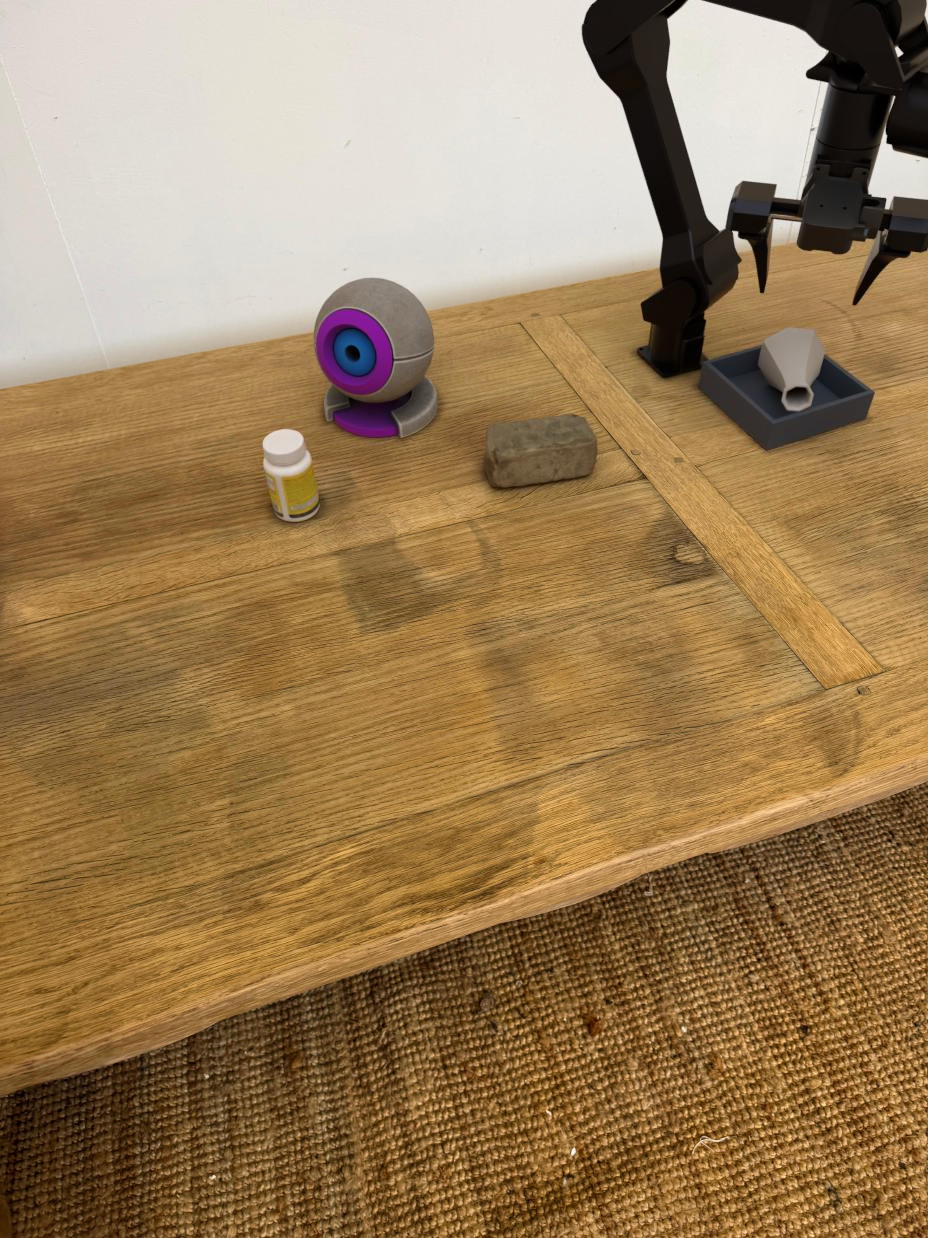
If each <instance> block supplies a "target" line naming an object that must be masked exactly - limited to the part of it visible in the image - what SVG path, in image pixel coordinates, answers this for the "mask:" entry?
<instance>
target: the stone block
mask: <svg viewBox="0 0 928 1238" xmlns="http://www.w3.org/2000/svg"><path fill="white" fill-rule="evenodd" d="M484 444H485V446H484V447H485V448H484V456H483V461H482V463H483V467H484V472H485V474H486V475H487V477H488V478H487V479H488V481H489V483H490V485H491V486H492V487H494V488H495V487H498V488H510V487H511V488H512V487H517V488H518V487H524V486H529V485H537V484H538V485H539V484H544V483H549V482H557V481H560V480H571V479H575V478H581V477H585V476H587V475H590V474H591V473H593V471H594V469H595V465H596V463H597V458H598V437H597V435H596V434H595V431H594V429H593V428H592V426H591V425H590V423H589V422H588V420H587V418H586V417H585V416H580V415H578V414H575V413H568V414H563V415H551V416H546V417H538V418H534V419H533V418H531V419H525V420H518V421H506V422H502V423H493V424H492V425H488V426H487V427H486V430H485V443H484Z"/></svg>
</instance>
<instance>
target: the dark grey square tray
mask: <svg viewBox="0 0 928 1238" xmlns="http://www.w3.org/2000/svg"><path fill="white" fill-rule="evenodd" d="M761 347H762V344H759V345H756V346H751V347H749V348H745V349H742V350H737V351H735V352H731V353H727V354H723V355H720V356H716V357H714V358H710V359H709V360H706V361H703V363H702V367H701V368H700V373H699V380H698V385H697V388H698V390H699V391H701V392H702V393H703V394H704V395H705V396H706V397H707V398H708V399H710V401H712V402H713V403H714V404H715V405H716V406H717V407H718V408H719V409H720V410H722V412H723V413H725V414H726V415H727V416H728V417H729V418H730V419H731V420H732V421H733V422H734V423H735V424H736V425H737V426H739V427H740V429H742V430H743V431H744V432H745V433H746V434H747V435H748V436H749V437H751V438H752V439H753V440H754V441H755V442H756V443H757V444H758V445H759V446H761V448H763V449H764V450H765V451H766V452H767V451H769V450H773V449H775V448H779V447H782V446H786V445H789V444H791V443H795V442H798V441H801V440H804V439H807V438H808V439H809V438H810V437H813V436H817V435H821V434H823V433H826V432H829V431H833V430H836V429H839V428H842V427H845V426H849V425H851V424H855V423H858V422H861V421H865V420H867V417H868V415H869V411H870V408H871V405H872V403H873V401H874V400H873V399H874V397H875V395H876V394H875V390H873V389H871V388H870V387H869V386H868V385H866V384H865V383H863V381H861V380H860V379H858V378H857V377H856V376H855V375H853V374H852V373H851V372H850V371H848V370H847V369H846V368H844V367H843V366H841V365H840V364H839V363H838V362H836V361H835V360H833V359H832V358H831V357H830V356H828V355H827V354H824V358H823V362H822V365H821V369H820V373H819V375H818V376H817V378H816V379H815V380H814V381H813V383H812V384H811V386H810V388H811V390H812V392H813V394H814V396H813V399H812V403H811V406H809V407H807V408H805V409H803V410H801V411H787V410H786V408H785V406H784V405H783V403H782V401H781V399H782V395H783V393H782V392H781V391H780V390H778V389H777V388H775V387H773V386H771V385H770V384H769V383H768V381H767V380H766V378H765V376H764V374H763V373H762V371H761V369H760V368H759V366H758V361H759V356H760V351H761Z"/></svg>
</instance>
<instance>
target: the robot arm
mask: <svg viewBox="0 0 928 1238" xmlns="http://www.w3.org/2000/svg"><path fill="white" fill-rule="evenodd" d="M688 1H689V0H595V1H594V2H593V3H591V4H590V6H589V8H587V10H586V13H585V16H584V19H583V23H581V27H580V30H581V31H580V32H581V40H582V44H583V46H584V47H583V48H585V51H586V53H587V55H588V58H589V60H590V62H591V64H592V66H593V68H594V70H595V72H596V75H597V77H598V78H599V79H600V80H601V81H602V82H603V84H605V85H606V86H607V88H609V90H610V91H612V93H613V94H614V95H615V96H616V97H617V98H618V99H619V101H620V104H621V106H622V110H623V113H624V116H625V119H626V123H627V126H628V129H629V132H630V135H631V139H632V142H633V145H634V148H635V151H636V155H637V158H638V162H639V165H640V168H641V172H642V175H643V178H644V181H645V184H646V188H647V190H648V194H649V197H650V200H651V203H652V207H653V210H654V213H655V216H656V219H657V222H658V226H659V229H660V232H661V237H662V242H661V249H660V250H661V251H660V257H659V258H660V259H659V268H658V270H659V275H660V282H661V287H660V288H659V289H657V290H655V291H654V293H652V294H651V295H649V296H648V297H647V298H645V299H644V300H643V301H642V302H640V309H641V315H642V320H643V322H645V323H648V324H650V329H649V335H648V336H649V337H648V343H647V344H646V345H643V346H639V347H637V348H636V353H637V355H638V356H639V357H640V358H641V359H643V360H644V361H645V362H646V363H647V364H648V365H649V366H650V367H651V368H652V369H653V370H654V371H655V372H656V373H657V374H658V375H660V376H661V377H662V378H669V377H673V376H676V375H680V374H684V373H687V372H691V371H694V370H697V369H701V368H702V363H703V361H706V360H710V359H709V358H708V357H707V356H705V355H704V354H703V348H704V343H705V332H706V331H705V330H706V325H707V319H706V318H705V317H706V316H705V315H706V311H708V309H710V308H711V307H712V306H714V305H715V304H716V303H717V302H719V301H720V300H722V298H723V297H725V296H726V295H727V294H728V293H729V292H730V291H731V290H733V289H734V287H735V285H736V283H737V281H738V280H739V275H740V272H739V271H740V270H739V264H741V263H742V262H743V259H742V258H741V256H740V254H739V253H738V251H737V249H736V245H735V238H734V237H735V236H734V232H736V233H737V237H738V239H740V240H744V241H747V242H748V244H749V245H750V247H751V251H752V253H753V257H754V261H755V267H756V274H757V282H758V289H759V293H760V294H765V291H766V287H767V281H768V277H769V271H770V261H771V250H772V241H773V240H772V239H773V230H774V220H777V221H786V222H797V223H800V226H799V230H798V234H797V238H796V246H797V247H798V248H799V249H800V250H802V251H805V252H813V251H820V252H829V253H832V254H833V255H838V256H839V255H840V256H841V255H846V254H847V253H849V251H850V250H851V248H852V245H853V243H854V242H860V243H866V240H867V239H868V240H874V241H873V243H872V247H871V249H870V252H869V254H868V257H867V259H866V261H865V263H864V266H863V268H862V271H861V274H860V276H859V279H858V282H857V284H856V288H855V290H854V294H853V298H852V302H851V305H852V306H854V307H855V306H858V304H859V302H860V301H861V300H862V298H863V297H864V295H865V294H866V293H867V292H868V290H869V289H870V288H871V286H872V284H874V282H875V280H876V279H877V278H878V276H880V274H882V272H883V271H884V270H885V268H886V267H887V266H888V265H889V264H891V263H892V262H894V261H896V260H897V259H907V258H909V257H910V256H911V254H912V253H919V254H921V253H926V252H927V251H928V199H924V198H914V197H905V196H897V195H893V197H892V199H891V201H890V205H889V208H886V205H887V200H888V199H887V198H886V197H881V196H873V194H871V193H870V192H869V191H870V190H869V187H870V183H871V180H872V177H873V172H874V169H875V165H876V162H877V159H878V155H879V152H880V148H881V144H882V140H883V136H884V133H885V136H886V139H885V140H886V141H885V143H886V145H890V146H891V148H892V150H893V151H894V152H897V153H902V154H905V155H911V156H913V157H914V156H915V157H920V158H924V159H927V160H928V20H927V17H926V11H927V6H928V1H927V0H701V1H703V2H707V3H710V4H713V5H717V6H720V7H724V8H727V9H732V10H735V11H738V12H742V13H746V14H748V15H749V14H750V15H753V16H757V17H760V18H763V19H767V20H771V21H775V22H777V23H778V22H779V23H782V24H786V25H788V26H792V27H795V28H797V29H798V30H800V31H802V32H804V33H806V35H808V37H810V38H811V40H812V41H814V42H815V43H816V45H817V46H819V47H820V48H822V49H824V50H826V51H827V53H826V54H825V55H824V57H823V58H822V59H821V60H820V61H819V62H817V63H816V64H815V65H813V66H811V67H810V68H808V69H806V71H805V78H807V79H808V80H813V81H817V82H821V83H826V84H827V87H826V91H825V95H824V100H823V104H822V108H821V112H820V115H819V121H818V125H817V130H816V134H815V138H814V143H813V147H812V150H811V151H812V152H811V156H810V160H809V165H808V169H807V174H806V178H805V182H804V186H803V189H802V192H801V197H800V199H796V198H795V199H794V198H786V197H775V196H776V193H777V187H778V184H777V183H768V182H759V181H749V180H741V181H740V182H739V183H738V184H737V185H736V186H735V187H734V190H733V193H732V196H731V199H730V202H729V206H728V209H727V215H726V222H725V225H724V227H725V228H723V229H720V230H719V229H718V228H717V227H716V225H714V224H713V222H711V220H710V219H709V218H708V216H707V213H706V211H705V207H704V203H703V200H702V197H701V193H700V190H699V187H698V183H697V180H696V176H695V172H694V169H693V165H692V162H691V158H690V155H689V151H688V149H687V144H686V141H685V137H684V134H683V131H682V127H681V123H680V120H679V117H678V113H677V110H676V107H675V103H674V99H673V96H672V92H671V88H670V86H669V82H668V67H669V57H670V48H671V38H670V30H669V23H668V21H669V19H670V18H671V17H672V16H674V15H675V14H676V13H677V12H678V11H679V10H681V9H682V8H683V7H684V6H685V5H686V4H687V2H688ZM896 48H898V49H899V50H900V52H901V53H902V54H901V55H899V56H898V53H897V51H896Z"/></svg>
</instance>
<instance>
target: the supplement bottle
mask: <svg viewBox="0 0 928 1238" xmlns="http://www.w3.org/2000/svg"><path fill="white" fill-rule="evenodd" d="M262 450H263V455H264V457H263V460H262V467H263V471H264V475H265V476H264V477H265V479H266V484H267V487H268V492H269V497H270V500H271V505H272V508H273V512H274V514H275V515H276V517H278V519H280V520H282V521H285V522H289V523H290V522H291V523H297V522H298V523H300V522H305V521H306V520H309V519H311V518H313V516H315V515H316V514H317V513H318V511H319V510H320V506H321V501H320V493H319V490H318V483H317V479H316V474H315V473H316V472H315V468H314V464H313V459H312V455H311V453H310V452H309V450H307V446H306V442H305V439H304V436H303V434H302V433H301V432H299V431H297V430H295V429H291V428H282V429H277V430H274V431H272V432H270V433H269V434H267V435H266V436H265V437H264V438H263V440H262Z"/></svg>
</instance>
